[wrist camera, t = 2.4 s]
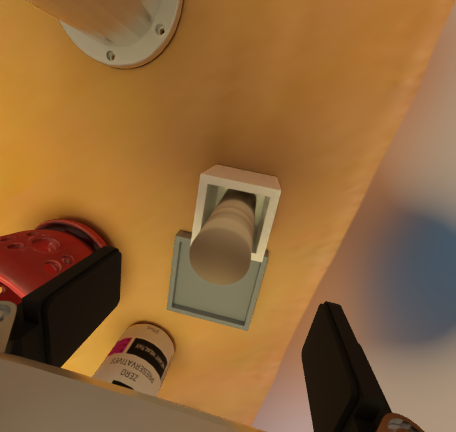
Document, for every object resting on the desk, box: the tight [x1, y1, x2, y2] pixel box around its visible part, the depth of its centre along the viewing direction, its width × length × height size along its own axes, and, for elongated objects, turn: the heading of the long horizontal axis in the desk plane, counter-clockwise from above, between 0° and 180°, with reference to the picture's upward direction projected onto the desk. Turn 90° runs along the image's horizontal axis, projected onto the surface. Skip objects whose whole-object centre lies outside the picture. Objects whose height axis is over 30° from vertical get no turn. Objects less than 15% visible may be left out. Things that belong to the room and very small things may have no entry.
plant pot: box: [0, 219, 107, 306], centre depth 26 cm, size 13×13×12 cm
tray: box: [167, 231, 268, 331], centre depth 29 cm, size 11×11×2 cm
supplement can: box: [92, 324, 174, 397], centre depth 28 cm, size 8×8×15 cm
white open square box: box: [190, 164, 281, 262], centre depth 23 cm, size 7×7×7 cm
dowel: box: [189, 188, 256, 285], centre depth 19 cm, size 4×4×13 cm
